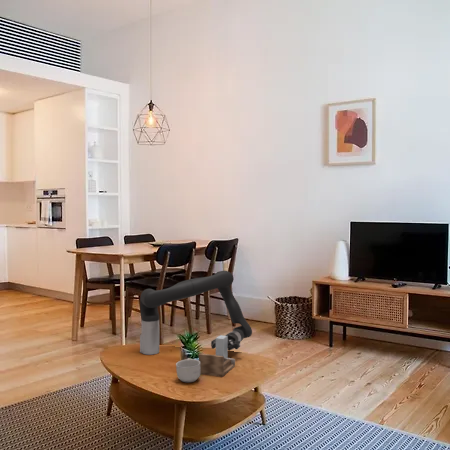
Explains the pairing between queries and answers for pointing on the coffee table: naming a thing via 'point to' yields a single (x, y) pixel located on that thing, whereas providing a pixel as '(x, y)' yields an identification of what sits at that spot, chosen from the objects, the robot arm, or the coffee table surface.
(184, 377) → the teacup
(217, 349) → the tall grey pillar
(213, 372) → the track block
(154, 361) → the coffee table surface
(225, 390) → the coffee table surface
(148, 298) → the robot arm
